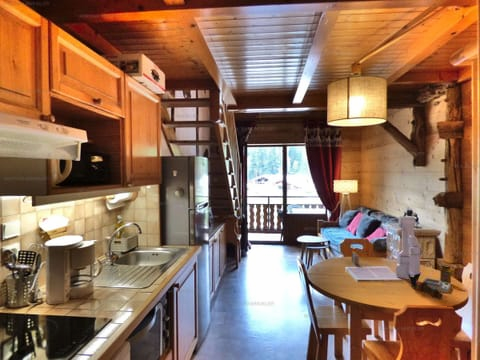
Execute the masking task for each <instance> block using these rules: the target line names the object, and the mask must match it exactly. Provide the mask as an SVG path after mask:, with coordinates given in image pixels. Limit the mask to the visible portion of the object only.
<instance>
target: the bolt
mask: <svg viewBox="0 0 480 360" xmlns="http://www.w3.org/2000/svg"><path fill="white" fill-rule="evenodd" d="M418 288H419V290H420V291H425V292H427V293H428V294H429V293H430V295H431V296H432V297H435V298H438V299H442V298H443V297H444V294H443V292H442V293H441V291H438V290H437V289H432V288H430V287H429V286H428V285H427V283H425V282H423V281H422V282H420V283H419V284H418Z"/></svg>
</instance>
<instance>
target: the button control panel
mask: <svg viewBox="0 0 480 360" xmlns="http://www.w3.org/2000/svg"><path fill="white" fill-rule="evenodd" d="M422 282H425V283H427V285H428V286H429V287H430V288H432V289H437V290H438V291H439V292H440V293H441V292H442V293H446V292H447V294H448V293H449V291H450V289H451V285H450V284H449V283H448V282H442V281H440V280H439V279H434V278H430V277H425V278H424V280H423V281H422Z"/></svg>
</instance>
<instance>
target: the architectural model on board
mask: <svg viewBox="0 0 480 360" xmlns="http://www.w3.org/2000/svg"><path fill="white" fill-rule="evenodd" d="M359 260H360V259H359V255H358V254H357V253H356V252H355V251H353V249H352V250H351V262H352V263H353V264H354V265H355V266H359V263H360V262H359Z"/></svg>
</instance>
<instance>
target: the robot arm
mask: <svg viewBox="0 0 480 360" xmlns="http://www.w3.org/2000/svg"><path fill="white" fill-rule="evenodd" d="M397 223H398V228H399V229H401V251H400V252H398V253H397V264H396V269H395V271H396V272H395V277H396V276H397V277H396V278H401V279H404V280H409V281H410V286H411V285H412V286H416V282H417V279H418V280H419V279H420V276H421V274H422V273H423V272H422V271H421V269H420V268H421V256H422V255H423V254H422V251H423V249H422V247H421V245H420V244H419V241H418V238H417V236H415V230H414V227H415V225H416V217H415V216H402V215H401V216H399V217H398V222H397Z"/></svg>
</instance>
